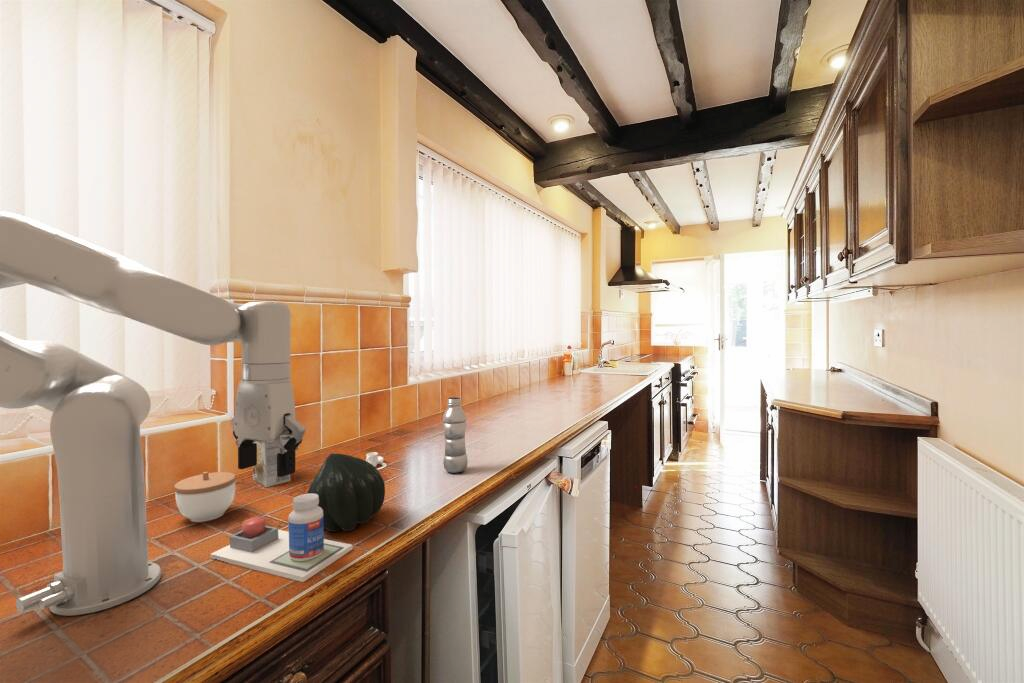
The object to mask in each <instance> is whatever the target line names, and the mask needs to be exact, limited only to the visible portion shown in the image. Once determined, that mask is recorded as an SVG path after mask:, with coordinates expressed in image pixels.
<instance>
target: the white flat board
mask: <svg viewBox="0 0 1024 683" xmlns="http://www.w3.org/2000/svg"><path fill="white" fill-rule="evenodd" d="M353 547H354V546H353V544H351V543H345V542H339V541H336V540H330V539H327V538H324V551H323V553H322V554H321V555H319V556H318V557H316V558H314V559H311V560H307V561H294V560H292V559H291V558H290V556H289V531H287V530H282V529H279V528H278V527H276V526H275V527H274V526H271V525H270V526H269V525H266V530H265V532H264V533H262V534H260V535H257V536H252V537H245V536H243V530H242V529H241V530H240V531H238V532H235V533H234V534H231V535H230V536H229V544H228V545H226V546H224V547H222V548H220V549H217V550H216V551H214V552H211V553H210V559H211V558H212V560H214V559H217V560H216V561H218V560H221V561H220V562H222V561H225V562H224V563H226V562H228V563H227V564H229V565H230V564H231V565H234V566H238V567H243V568H245V569H250V570H255V571H258V572H262V573H266V574H270V575H274V576H277V577H280V578H285V579H290V580H293V581H297V582H300V583H304V582H306V581H307V580H308V579H310V578H312V577H313V576H315V575H316V574H317V573H319V572H321V571H322V570H324V569H326V568H327V567H328V566H330V565H331V564H333V563H334V562H336V561H337V560H339V559H340V558H342V557H343V556H345V555H346V554H348V553H349V552H351V551H352V550H353Z"/></svg>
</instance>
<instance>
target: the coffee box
mask: <svg viewBox="0 0 1024 683" xmlns="http://www.w3.org/2000/svg"><path fill="white" fill-rule="evenodd" d="M283 442H284V443H285V444H286V443H287V440H283ZM254 443H257V464H256V465H255V466H252V468H251V469H252V480H253V481H254V482H256V483H258V484H259V485H261V486H263V487H265V488H270V487H273V486H277V485H280V484H284V483H289V482H291V474H289V475H286V476H283V477H278V476H277V454H278V453H280V451H279V449H278V447H277V445H276V443H275V442H274V441H272V442H261V441H254Z"/></svg>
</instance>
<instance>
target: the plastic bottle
mask: <svg viewBox="0 0 1024 683" xmlns="http://www.w3.org/2000/svg"><path fill="white" fill-rule="evenodd" d="M446 406H447V408H446V410H445V411H444V413H443V415H442V424H443V431H444V432H443V433H444V443H445V444H444V455H443V462H442V463H443V467H444V469H445V472H446V473H447V472H448V473H450V474H451V473H453V474H454V473H455V474H456V473H462V472H464V471H466V470H467V468H468V461H469V459H468V455H467V449H466V426H467V425H466V424H467V414H466V413H465V411H464V409H463V408H462V407H461V406H462V398H461V397H460V396H454V397H453V396H451V397H448V398H447V403H446Z"/></svg>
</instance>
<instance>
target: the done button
mask: <svg viewBox="0 0 1024 683" xmlns="http://www.w3.org/2000/svg"><path fill="white" fill-rule="evenodd" d="M241 526H242V529H241V531H242V530H243V536H245V537H252V536H257V535H260V534H262V533H264V532H265V530H266V526H267V525H266V517H263V516H254V517H251V518H248V519H246V520H244V521H243V522H242V525H241Z"/></svg>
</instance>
